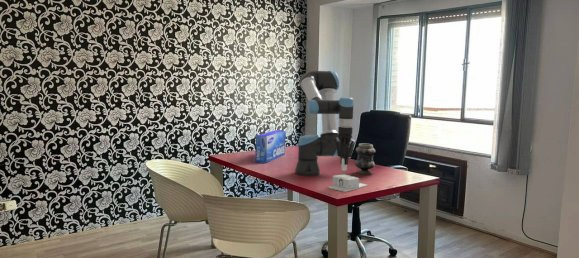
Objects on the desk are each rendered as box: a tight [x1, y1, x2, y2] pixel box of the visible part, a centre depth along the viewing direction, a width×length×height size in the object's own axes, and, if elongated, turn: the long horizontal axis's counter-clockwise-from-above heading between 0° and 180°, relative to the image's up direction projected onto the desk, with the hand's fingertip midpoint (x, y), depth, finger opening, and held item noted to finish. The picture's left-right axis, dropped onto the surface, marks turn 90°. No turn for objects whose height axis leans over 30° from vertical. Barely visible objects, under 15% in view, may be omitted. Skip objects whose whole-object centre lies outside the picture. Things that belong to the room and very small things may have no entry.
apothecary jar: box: [354, 142, 376, 176], centre depth 269 cm, size 12×12×18 cm
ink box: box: [332, 173, 360, 189], centre depth 234 cm, size 8×5×12 cm
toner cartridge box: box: [254, 129, 287, 164], centre depth 313 cm, size 39×8×18 cm, turn 161°
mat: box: [327, 182, 368, 193], centre depth 234 cm, size 11×20×1 cm, turn 136°
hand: (344, 170), depth 236 cm, fingers closed
